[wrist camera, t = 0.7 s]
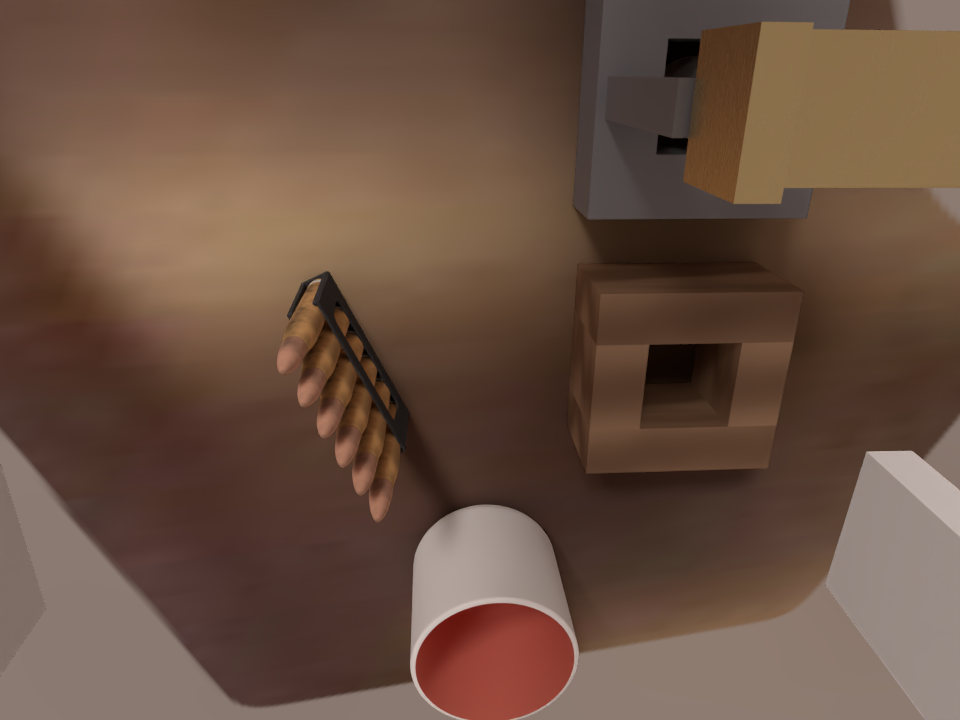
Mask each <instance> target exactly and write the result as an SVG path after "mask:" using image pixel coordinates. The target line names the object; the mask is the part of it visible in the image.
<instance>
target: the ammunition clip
mask: <svg viewBox="0 0 960 720" xmlns="http://www.w3.org/2000/svg"><path fill="white" fill-rule="evenodd" d="M287 316H288V318H289V320H290V321H289V323H288V324H287V326H286V328H285V330H284V337H283V341H282V345H281V347H280V349H279V353H278V358H277V367H278V371H279V372H280V374H282V375H286V374H289V373H291V372H292V371H294V370H295V369H296V368H297V367H298V366H299V365H300V364H301V362H302V361H303V363H302V373H301V378H300V380H299V385H298V391H297V395H298V401H299V403H300V405H301V406H302V407H308V406H310V405H311V404H312V403H314V402H315V401H316V400H317V398H318V397H319V395H320V400H321V401H320V405H319V410H318V415H317V428H318V432H319V435H320V436H321V437H322V438H327V437H329V436H330V435H331V434H332V433H333V432H334V431H335V430H336V428H337V427H338V429H337V438H336V442H335V454H336V459H337V462H338V464H339V466H340V467H345V466H347V465H348V464H349V463H350V462H351V461H352V459H353V458H354V459H353V470H352V477H353V484H354V488H355V490H356V492H357V494H358V495H363V494H364V493H365V492H366V491H367V490H368V489H369V488H370V491H369V505H370V511H371V514H372V517H373V519H374V520H375V521H376V522H380V521H381V520H382V519H383V518H384V516H385V515H386V513H387V511H388V508H389V505H390V502H391V498H392V491H393V488H394V482H395V480H396V478H397V474H398V469H399V457H400V452H401V453H402V452H404V451H405V449H406V438H407V428H408V418H409V412H408V410H407V408H406V406H405V404H404V403H403V401H402V399H401V397H400V396H399V394H398V392H397V390H396V389H395V387H394V385H393V383H392V382H391V380H390V378H389V376H388V375H387V373H386V371H385V369H384V368H383V366H382V364H381V362H380V361H379V359H378V357H377V355H376V354H375V352H374V350H373V348H372V347H371V345H370V343H369V341H368V340H367V338H366V336H365V334H364V332H363V331H362V329H361V327H360V325H359V324H358V322H357V320H356V318H355V317H354V315H353V313H352V311H351V310H350V308H349V306H348V304H347V303H346V301H345V299H344V297H343V296H342V294H341V292H340V290H339V289H338V287H337V285H336V283H335V282H334V280H333V278H332V276H331V275H330V273H329V272H327V271H326V272H324V273H322V274H320V275H318V276H316V277H314V278H312V279H309V280H307V281H305V282H303V283H302V284H301V286H300V288H299V290H298V293H297V295H296V297H295V299H294V301H293V303H292V306H291V308H290V310H289V312H288V314H287ZM400 446H401V448H400Z"/></svg>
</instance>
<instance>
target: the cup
mask: <svg viewBox="0 0 960 720" xmlns="http://www.w3.org/2000/svg"><path fill="white" fill-rule="evenodd" d="M578 660H579V649H578V643H577V639H576V636H575V632H574V628H573V624H572V620H571V616H570V612H569V609H568V605H567V601H566V597H565V593H564V589H563V585H562V581H561V578H560V574H559V570H558V566H557V562H556V558H555V554H554V551H553V547H552V544H551V542H550V540H549V538H548V536H547V535H546V533H545V532H544V531H543V529H542V528H541V527H540V526H539V525H538V524H537V523H536V522H535V521H534V520H533V519H531V518H530V517H528V516H527V515H525V514H523V513H522V512H519V511H517V510H515V509H512V508H509V507H505V506H500V505H486V504H485V505H475V506H469V507H465V508H462V509H459V510H456V511H454V512H452V513H450V514H448V515H446V516H445V517H443V518H442V519H440V520H439V521H438V522H436V523H435V524H434V525H433V526H432V527H431V528H430V529H429V530H428V531H427V532H426V534H425V535H424V537H423V538H422V540H421V542H420V544H419V546H418V548H417V551H416V554H415V558H414V565H413V595H412V627H411V657H410V669H411V675H412V679H413V682H414V684H415V686H416V689H417V690H418V692H419V693H420V695H421V696H422V697H423V698H424V699H425V700H426V701H427V702H428V703H429V704H430V705H431V706H432V707H434V708H435V709H437V710H438V711H440V712H441V713H443V714H445V715H447V716H450V717H453V718H455V719H458V720H518V719H522V718H525V717H527V716H530V715H532V714H534V713H537V712H539V711H540V710H542V709H544V708H546V707H547V706H549V705H550V704H551V703H553V702H554V701H555V700H556V699H557V698H558V697H559V696H561V695H562V693H563V692H564V691H565V690H566V689H567V687H568V686H569V684H570V683H571V681H572V679H573V677H574V675H575V672H576V670H577V666H578Z"/></svg>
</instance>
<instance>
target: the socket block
mask: <svg viewBox="0 0 960 720" xmlns="http://www.w3.org/2000/svg"><path fill="white" fill-rule="evenodd" d="M849 4H850V0H586V8H585V24H584V40H583V56H582V72H581V88H580V104H579V120H578V136H577V152H576V168H575V184H574V200H573V206H574V207H575V208H576V209H577V210H578V211H580V212H581V213H582V214H583V215H584V216H585V217H586V218H587V219H761V218H807V215H808V210H809V205H810V200H811V195H812V190H813V188H784V190H783V196H782V201H781V204H733V203H730V202H728V201H726V200H724V199H721V198H719V197H717V196H714V195H712V194H710V193H708V192H705V191H703V190H701V189H699V188H696V187H694V186H692V185H689V184H687V183H685V182H683V178H684V170H685V162H686V154H687V147H657V141H658V134H659V135H663V136H666V137H670V138H689V130H690V122H691V113H692V105H693V97H694V89H695V81H696V78H687V77H664V75H665V66H666V56H667V47H668V42H700V41H701V33H702V30H708V29H715V28H722V27H729V26H735V25H742V24H749V23H756V22H814V25H813V29H836V30H844V29H845V24H846V19H847V14H848V9H849Z"/></svg>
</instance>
